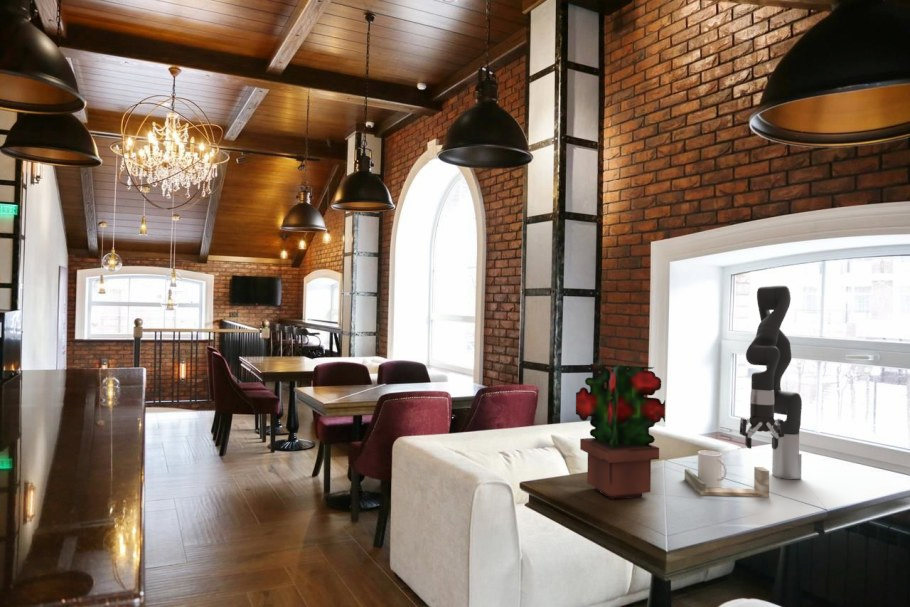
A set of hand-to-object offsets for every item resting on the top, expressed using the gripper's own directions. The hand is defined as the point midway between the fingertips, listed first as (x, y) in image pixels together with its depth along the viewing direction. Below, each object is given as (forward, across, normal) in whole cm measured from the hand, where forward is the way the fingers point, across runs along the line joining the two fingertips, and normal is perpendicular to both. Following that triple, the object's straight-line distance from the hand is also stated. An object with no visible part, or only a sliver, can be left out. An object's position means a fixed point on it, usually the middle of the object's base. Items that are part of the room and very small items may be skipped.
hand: (761, 448), depth 217 cm
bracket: (+16, +10, -7) cm, 20 cm away
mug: (+17, +13, -10) cm, 23 cm away
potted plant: (+17, +50, +2) cm, 53 cm away
